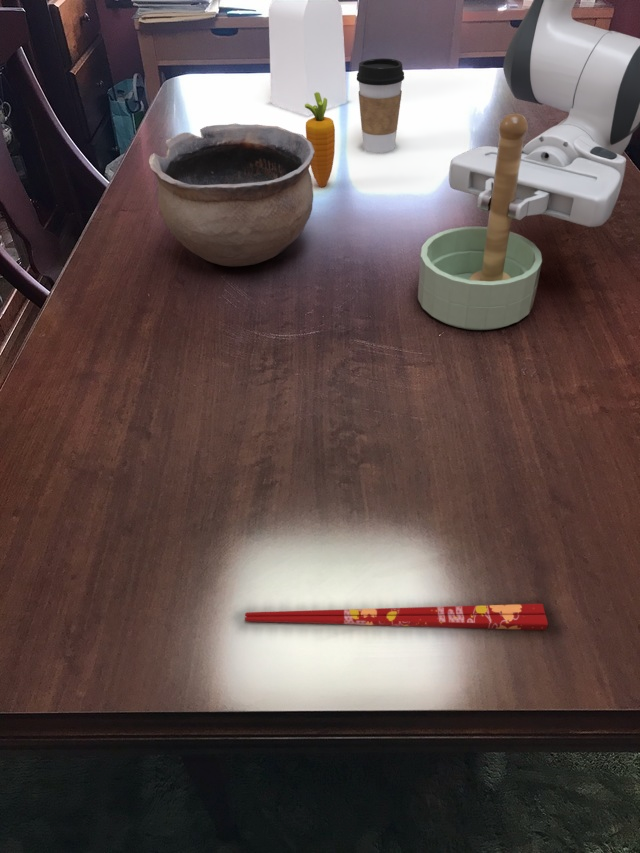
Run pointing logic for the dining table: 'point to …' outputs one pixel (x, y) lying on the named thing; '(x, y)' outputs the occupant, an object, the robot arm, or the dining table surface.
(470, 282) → the celadon bowl
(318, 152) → the carrot
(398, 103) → the coffee cup
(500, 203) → the muddler
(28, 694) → the dining table surface
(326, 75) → the milk
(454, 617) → the chopstick
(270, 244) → the ceramic bowl
